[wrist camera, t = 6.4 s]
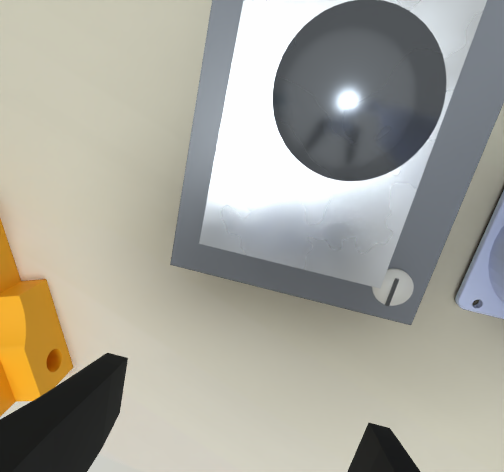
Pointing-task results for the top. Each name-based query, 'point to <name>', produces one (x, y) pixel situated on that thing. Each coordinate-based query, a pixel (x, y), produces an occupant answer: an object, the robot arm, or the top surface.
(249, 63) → the pan
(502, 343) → the top surface
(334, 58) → the cylinder
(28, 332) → the pipe clamp
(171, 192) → the top surface
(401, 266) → the base
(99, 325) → the top surface
